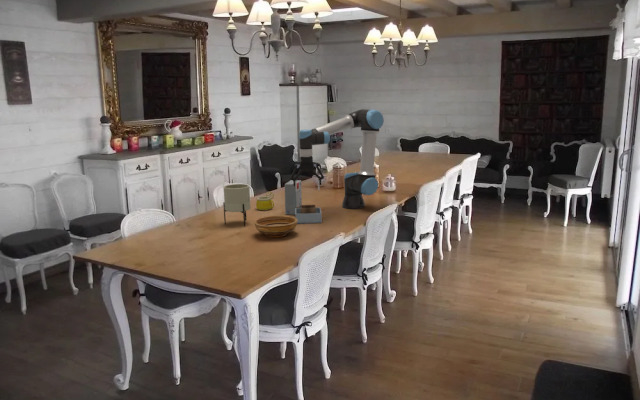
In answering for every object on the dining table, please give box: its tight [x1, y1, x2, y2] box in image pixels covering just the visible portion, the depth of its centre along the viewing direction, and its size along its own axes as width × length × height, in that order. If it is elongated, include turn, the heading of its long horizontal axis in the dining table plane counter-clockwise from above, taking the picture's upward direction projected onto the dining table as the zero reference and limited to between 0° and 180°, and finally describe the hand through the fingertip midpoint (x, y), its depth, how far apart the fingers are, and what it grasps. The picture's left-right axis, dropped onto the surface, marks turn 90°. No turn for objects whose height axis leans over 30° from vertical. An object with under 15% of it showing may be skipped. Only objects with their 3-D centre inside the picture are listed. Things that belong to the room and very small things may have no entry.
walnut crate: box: [301, 204, 317, 214], centre depth 326 cm, size 9×9×8 cm
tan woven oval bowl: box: [253, 215, 298, 238], centre depth 297 cm, size 30×24×8 cm
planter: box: [223, 183, 251, 227], centre depth 321 cm, size 15×16×23 cm
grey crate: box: [294, 207, 323, 225], centre depth 327 cm, size 16×16×6 cm
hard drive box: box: [284, 179, 303, 216], centre depth 347 cm, size 16×8×20 cm, turn 168°
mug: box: [255, 191, 275, 211], centre depth 358 cm, size 13×11×12 cm
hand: (307, 190), depth 324 cm, fingers open, 13 cm apart
